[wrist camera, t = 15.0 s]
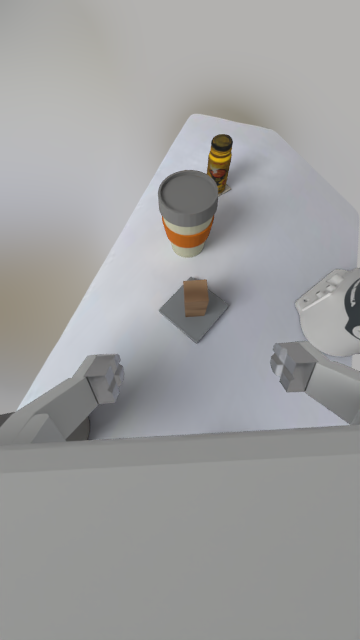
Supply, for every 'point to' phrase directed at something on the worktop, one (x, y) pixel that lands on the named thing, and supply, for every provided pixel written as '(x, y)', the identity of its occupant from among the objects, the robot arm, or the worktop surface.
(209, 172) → the condiment
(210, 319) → the slate coaster
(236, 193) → the worktop surface
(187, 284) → the walnut block
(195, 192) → the reusable coffee cup
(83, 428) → the canister
